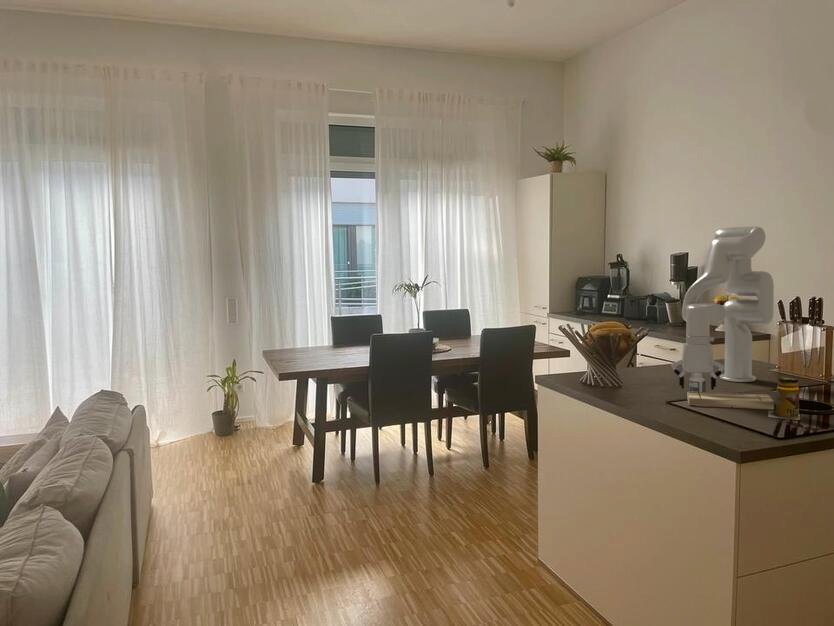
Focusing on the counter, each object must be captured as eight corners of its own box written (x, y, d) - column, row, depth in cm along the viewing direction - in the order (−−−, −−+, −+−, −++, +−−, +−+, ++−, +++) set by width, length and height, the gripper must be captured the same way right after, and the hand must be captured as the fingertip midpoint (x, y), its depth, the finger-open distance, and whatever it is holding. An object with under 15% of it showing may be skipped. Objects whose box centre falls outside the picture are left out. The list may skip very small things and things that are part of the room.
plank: (687, 398, 220) (687, 391, 219) (768, 402, 211) (768, 394, 211) (689, 405, 210) (689, 397, 210) (773, 409, 202) (774, 401, 202)
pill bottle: (701, 394, 225) (701, 369, 225) (708, 397, 220) (708, 372, 219) (686, 394, 225) (686, 370, 224) (693, 398, 220) (693, 373, 219)
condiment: (800, 420, 189) (801, 381, 188) (768, 417, 193) (768, 379, 192) (799, 414, 195) (800, 376, 194) (768, 411, 200) (769, 374, 198)
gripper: (723, 339, 221) (723, 387, 223) (670, 338, 227) (670, 385, 229) (726, 342, 214) (725, 391, 216) (671, 341, 220) (671, 389, 222)
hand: (697, 388), depth 222 cm, fingers open, 9 cm apart
